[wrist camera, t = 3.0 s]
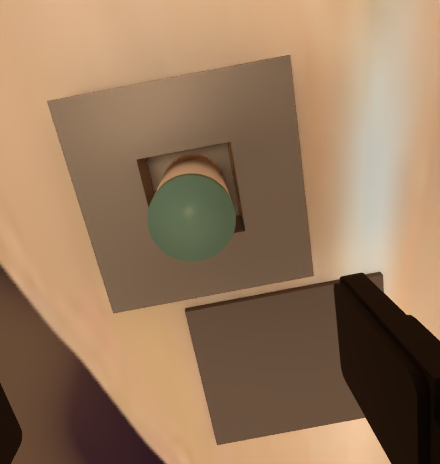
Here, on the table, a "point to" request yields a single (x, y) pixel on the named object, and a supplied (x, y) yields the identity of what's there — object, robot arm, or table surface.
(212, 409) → the mat
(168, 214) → the filter cartridge
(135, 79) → the table surface
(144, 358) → the table surface
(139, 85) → the housing
